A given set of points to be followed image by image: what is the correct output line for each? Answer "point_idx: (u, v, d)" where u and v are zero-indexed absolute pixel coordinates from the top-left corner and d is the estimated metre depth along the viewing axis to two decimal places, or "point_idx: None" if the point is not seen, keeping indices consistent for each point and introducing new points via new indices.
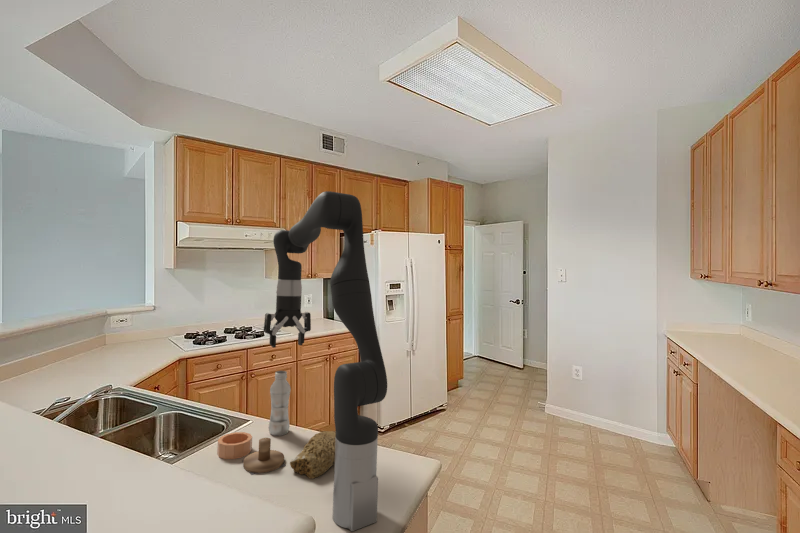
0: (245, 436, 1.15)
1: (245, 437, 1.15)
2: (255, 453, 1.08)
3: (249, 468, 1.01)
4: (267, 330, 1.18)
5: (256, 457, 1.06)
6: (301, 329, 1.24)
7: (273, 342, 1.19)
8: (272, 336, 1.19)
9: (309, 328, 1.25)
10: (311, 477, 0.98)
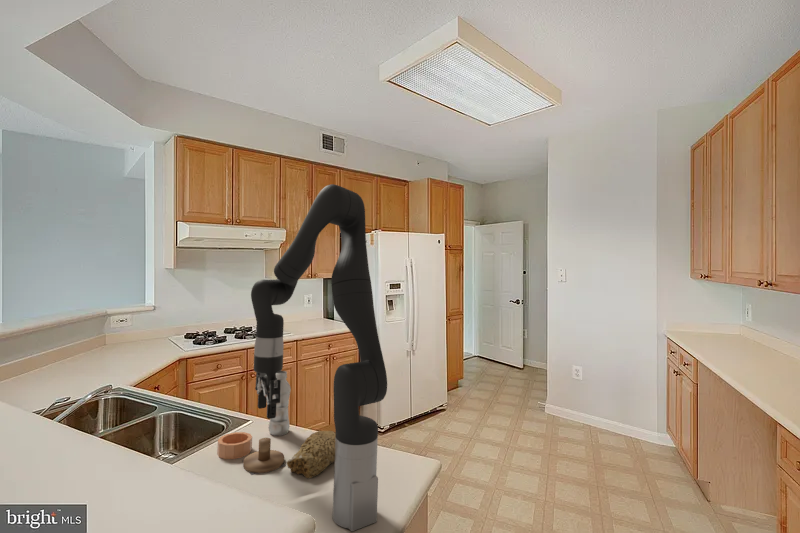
0: (245, 436, 1.15)
1: (245, 437, 1.15)
2: (255, 453, 1.08)
3: (249, 468, 1.01)
4: None
5: (256, 457, 1.06)
6: None
7: (275, 411, 1.03)
8: None
9: None
10: (308, 476, 0.99)
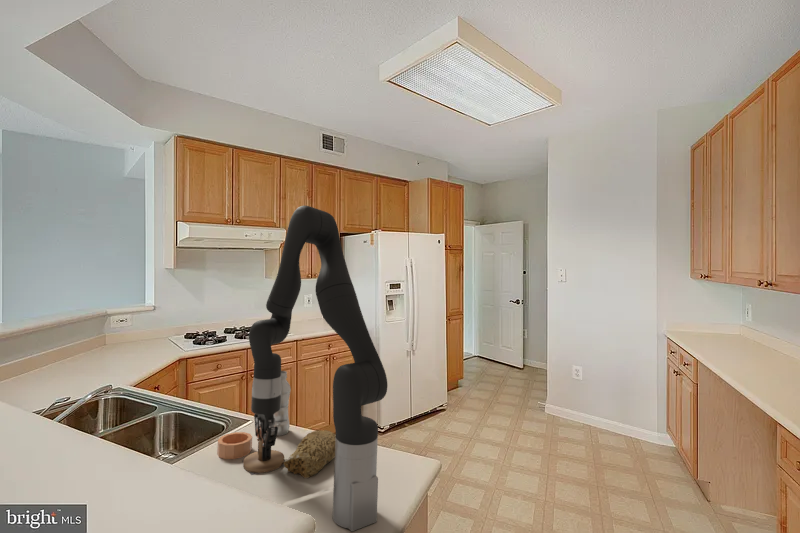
0: (245, 436, 1.15)
1: (245, 437, 1.15)
2: (255, 453, 1.08)
3: (249, 468, 1.01)
4: None
5: (256, 457, 1.06)
6: None
7: (270, 453, 1.04)
8: None
9: None
10: (305, 476, 0.99)
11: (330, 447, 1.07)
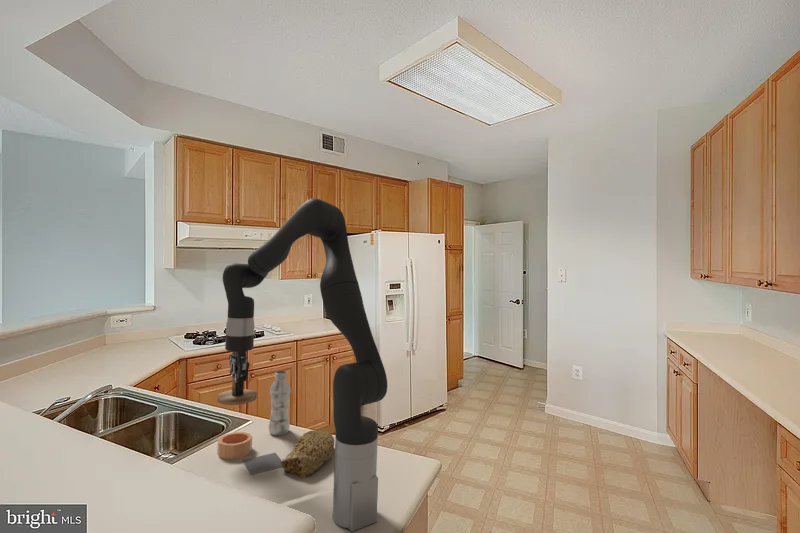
0: (245, 436, 1.15)
1: (245, 437, 1.15)
2: (230, 391, 1.15)
3: (222, 401, 1.07)
4: (246, 377, 1.09)
5: (230, 393, 1.13)
6: None
7: (242, 389, 1.11)
8: (242, 383, 1.10)
9: None
10: (303, 476, 0.99)
11: (327, 447, 1.07)
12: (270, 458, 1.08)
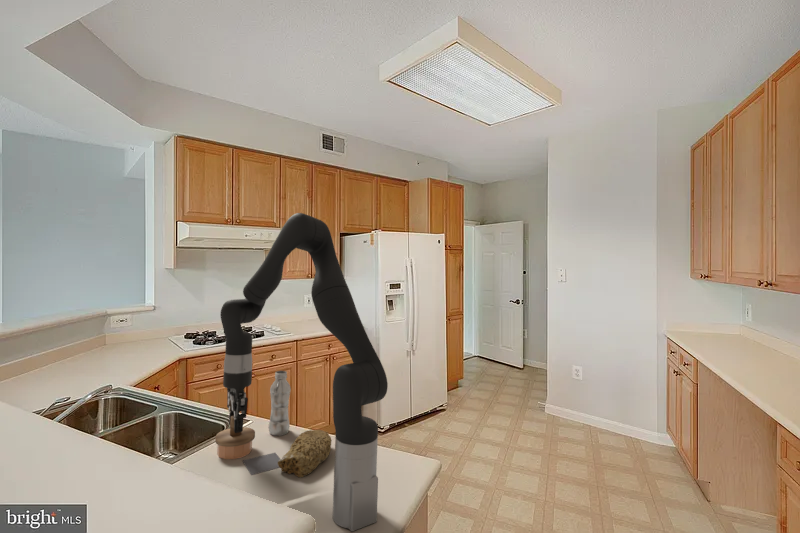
0: None
1: None
2: (228, 430, 1.14)
3: (220, 442, 1.07)
4: (245, 414, 1.08)
5: (228, 433, 1.12)
6: None
7: (242, 426, 1.10)
8: (241, 420, 1.09)
9: None
10: (300, 476, 0.99)
11: (324, 446, 1.07)
12: (270, 458, 1.08)
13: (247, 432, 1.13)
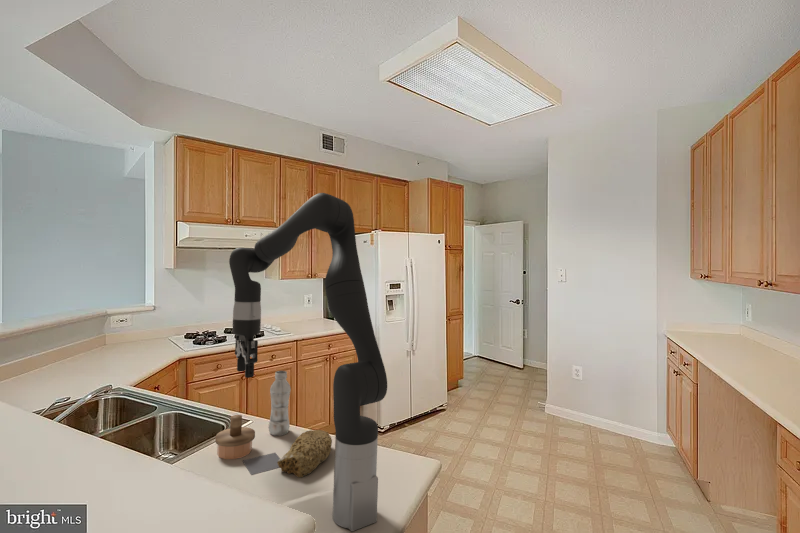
0: None
1: None
2: (228, 430, 1.14)
3: (220, 442, 1.07)
4: None
5: (228, 433, 1.12)
6: None
7: (253, 371, 1.09)
8: None
9: None
10: (299, 476, 0.99)
11: (324, 447, 1.07)
12: (270, 458, 1.08)
13: (247, 432, 1.13)
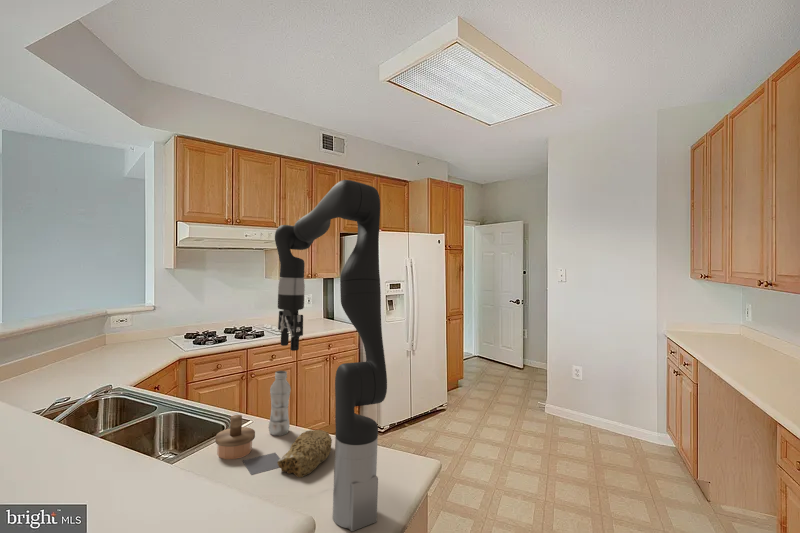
0: None
1: None
2: (228, 430, 1.14)
3: (220, 442, 1.07)
4: None
5: (228, 433, 1.12)
6: None
7: (298, 344, 1.12)
8: None
9: None
10: (299, 476, 0.99)
11: (324, 446, 1.07)
12: (270, 458, 1.08)
13: (247, 432, 1.13)
